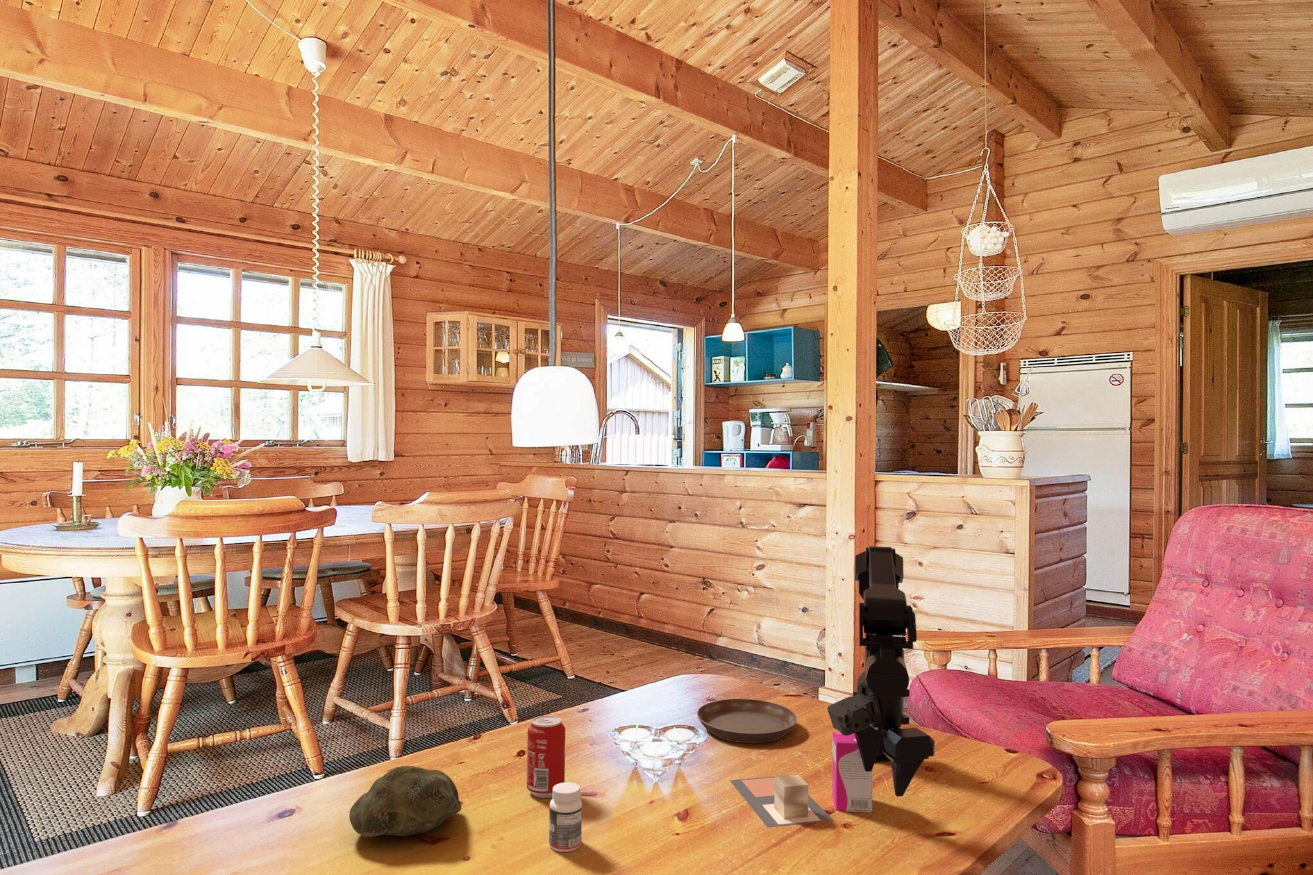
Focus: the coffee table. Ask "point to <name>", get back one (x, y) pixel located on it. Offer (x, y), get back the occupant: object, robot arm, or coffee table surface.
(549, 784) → the beverage can
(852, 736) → the supplement box
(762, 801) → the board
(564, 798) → the pill bottle
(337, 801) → the coffee table surface
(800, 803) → the block
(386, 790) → the decorative rock
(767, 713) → the plant saucer
